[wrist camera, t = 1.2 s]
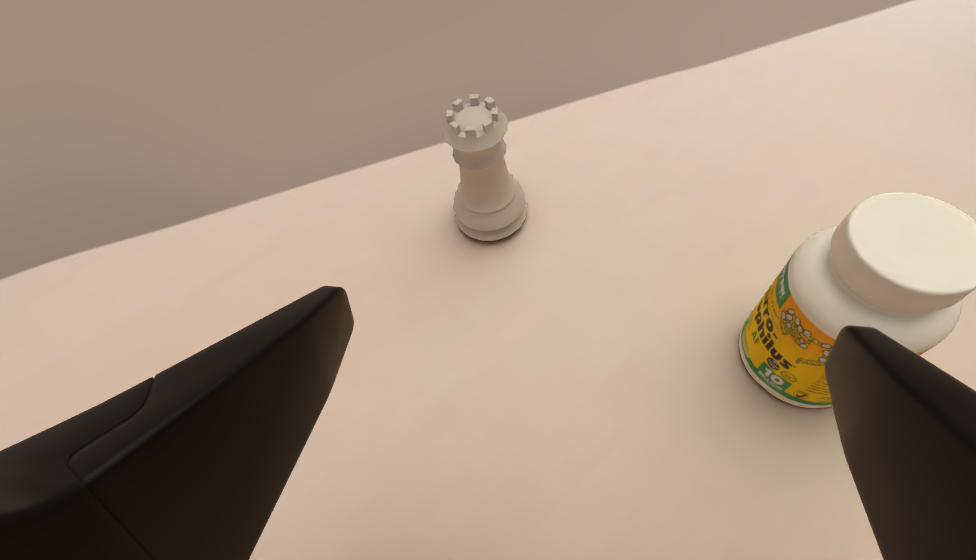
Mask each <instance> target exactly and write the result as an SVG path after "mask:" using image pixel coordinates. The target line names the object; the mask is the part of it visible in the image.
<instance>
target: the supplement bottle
mask: <svg viewBox="0 0 976 560" xmlns="http://www.w3.org/2000/svg"><path fill="white" fill-rule="evenodd" d="M975 289H976V222H975V221H974V220H973V219H972V218H971V217H969V216H968V215H967V214H965V213H964V212H962V211H961V210H959V209H957V208H956V207H954V206H952V205H950V204H948V203H946V202H943V201H941V200H939V199H936V198H933V197H929V196H925V195H921V194H916V193H908V192H891V193H883V194H878V195H875V196H873V197H870V198H868V199H866V200H864V201H862V202H861V203H859V204H858V205H857V206H856V207H855V208H854V209H853V210H852V211H851V212H850V213H849V214H848V215H847V216H846V218H845V219H844V220H843V221H842V222H841V223H840V224H839V225H836V226H832V227H829V228H826V229H823V230H821V231H819V232H817V233H815V234H814V235H812V236H811V237H809V238H808V239H807V240H806V241H804V242H803V243H802V244H801V245H800V246H799V247H798V248H797V249H796V251H795V252H794V253H793V255H792V256H791V258H790V259H789V261H788V262H787V264H786V265H785V267H784V268H783V270H782V271H781V273H780V274H779V275H778V277H777V278H776V279H775V281H774V282H773V284H772V285H771V286H770V287H769V289H768V290H767V292H766V293H765V295H764V296H763V297H762V299H761V300H760V301H759V303H758V304H757V306H756V307H755V309H754V310H753V311H752V312H751V314H750V316H749V317H748V319H747V320H746V322H745V323H744V325H743V327H742V329H741V331H740V336H739V349H740V354H741V357H742V360H743V362H744V365H745V367H746V368H747V370H748V372H749V374H750V375H751V376H752V377H753V378H754V379H755V380H756V381H757V382H758V383H759V384H760V385H761V386H762V387H764V388H765V389H766V390H767V391H768V392H770V393H771V394H772V395H774V396H775V397H777V398H779V399H781V400H783V401H785V402H787V403H790V404H792V405H795V406H800V407H806V408H826V407H831V406H833V405H832V401H831V397H830V393H829V389H828V384H827V380H826V376H825V362H826V359H827V357H828V355H829V353H830V351H831V349H832V346H833V344H834V342H835V340H836V338H837V336H838V334H839V332H840V330H841V329H842V328H843V327H845V326H848V325H852V326H866V327H873V328H876V329H878V330H879V331H881V332H882V333H884V334H885V335H887V336H889V337H890V338H892V339H893V340H895V341H897V342H898V343H900V344H901V345H903V346H905V347H906V348H908V349H909V350H911V351H912V352H914V353H916V354H917V355H919V356H920V355H921V354H923V353H924V352H926V351H928V350H929V349H931V348H932V347H934V346H935V345H937V344H938V343H940V342H941V341H942V340H944V339H945V338H946V337H947V336H948V335H949V334H950V333H951V331H952V330H953V329H954V327H955V326H956V324H957V322H958V320H959V317H960V314H961V309H962V299H963V298H964V297H965V296H966V295H968V294H969V293H970V292H972V291H973V290H975Z"/></svg>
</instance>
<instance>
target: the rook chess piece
mask: <svg viewBox="0 0 976 560" xmlns="http://www.w3.org/2000/svg"><path fill="white" fill-rule="evenodd" d="M469 96H470V101H471V102H470V103H467V104H464V105H463V101H462V100H461V99H460V98H459V99H457V100H456V101H454V102H453V103H452V105H453V109H454V111H453V110H447V115H446V118H447V121H446V122H445V124H444V127H443V136H444V139H445V141H446V143H448V144H449V145H450V146H452V147H453V148H454V149H453V157H454V159H455V162H456V163H457V164H459V166H460V179H461V182H460V184H459V185H458V189H457V191H456V192H455V198H454V206H453V209H454V211H455V219H456V222H457V224H458V227H459V228H460V229H461V230H462V231H463V232H464V233H465V234H466V235H467V236H469V237H472V238H475V239H478V240H481V241H496V240H499V239H502V238H505V237H508V236H510V235H511V234H512V233H513V232H515V231H516V230H517V229H518V228H520V227H521V225H522V224H523V222H524V220H525V218H526V216H527V203H526V201H525V193H524V191H523V189H522V188H521V186H520V184H519V182H518V181H517V180H516V179H514V177H513V175H511V174H510V173H509V172H508V170H507V167H506V164H505V161H504V155H505V153H506V143H505V142H504V140H503V137H504V135H505V134H506V132H507V128H508V121H507V119H506V117H505V115H504V113H502V112H501V111H499V109H498V107H496V106H495V101H494V100H493V99H492V98H490V97H487V98H486V99H485V103H483V102H480V96H479V94H474V95H469Z"/></svg>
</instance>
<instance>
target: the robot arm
mask: <svg viewBox="0 0 976 560" xmlns="http://www.w3.org/2000/svg"><path fill="white" fill-rule="evenodd" d="M353 326H354V320H353V315H352V312H351V308H350V304H349V301H348V297H347V294H346V291H345V290H344V289H343V288H341V287H332V286H323V287H321V288H319V289H317V290H315V291H313V292H311V293H309V294H307V295H305V296H304V297H302V298H300V299H298V300H296V301H294V302H292V303H290V304H289V305H287V306H285V307H283V308H281V309H279V310H277V311H275V312H273V313H272V314H270V315H268V316H266V317H264V318H262V319H260V320H258V321H257V322H255V323H253V324H251V325H249V326H247V327H245V328H243V329H241V330H240V331H238V332H236V333H234V334H232V335H230V336H228V337H226V338H225V339H223V340H221V341H219V342H217V343H215V344H213V345H211V346H209V347H208V348H206V349H204V350H202V351H200V352H198V353H196V354H194V355H193V356H191V357H189V358H187V359H185V360H183V361H181V362H179V363H177V364H176V365H174V366H172V367H170V368H168V369H166V370H164V371H162V372H161V373H159V374H157V375H156V376H155V378H149V379H147V380H145V381H143V382H142V383H140V384H138V385H136V386H134V387H132V388H130V389H128V390H126V391H125V392H123V393H121V394H119V395H117V396H115V397H113V398H111V399H109V400H107V401H105V402H103V403H101V404H99V405H97V406H95V407H93V408H91V409H89V410H87V411H85V412H83V413H81V414H78V415H76V416H74V417H72V418H70V419H68V420H66V421H64V422H62V423H60V424H57V425H55V426H53V427H51V428H49V429H47V430H45V431H42V432H40V433H38V434H36V435H34V436H32V437H30V438H27V439H25V440H23V441H21V442H19V443H17V444H15V445H12V446H10V447H8V448H6V449H4V450H2V451H0V560H249V558H250V556H251V554H252V552H253V550H254V548H255V546H256V544H257V542H258V540H259V538H260V536H261V534H262V532H263V529H264V527H265V525H266V523H267V521H268V519H269V517H270V515H271V513H272V511H273V509H274V507H275V505H276V503H277V501H278V499H279V497H280V495H281V493H282V491H283V489H284V487H285V485H286V483H287V481H288V478H289V476H290V474H291V472H292V470H293V468H294V466H295V464H296V462H297V460H298V458H299V456H300V454H301V452H302V450H303V448H304V446H305V444H306V442H307V440H308V438H309V436H310V434H311V432H312V430H313V427H314V425H315V423H316V421H317V419H318V417H319V415H320V413H321V411H322V409H323V407H324V405H325V403H326V401H327V399H328V396H329V394H330V392H331V389H332V387H333V384H334V381H335V379H336V376H337V373H338V370H339V367H340V365H341V362H342V359H343V356H344V353H345V351H346V348H347V345H348V342H349V339H350V337H351V334H352V331H353ZM825 376H826V380H827V384H828V389H829V393H830V397H831V401H832V405H833V409H834V414H835V418H836V422H837V426H838V430H839V435H840V439H841V443H842V446H843V450H844V454H845V457H846V460H847V463H848V465H849V468H850V471H851V474H852V476H853V479H854V482H855V484H856V487H857V490H858V492H859V495H860V498H861V500H862V503H863V506H864V509H865V511H866V514H867V517H868V519H869V522H870V525H871V527H872V530H873V533H874V535H875V538H876V541H877V543H878V546H879V549H880V551H881V554H882V557H883V559H884V560H976V391H974V390H973V389H971V388H970V387H968V386H967V385H965V384H963V383H962V382H960V381H959V380H957V379H955V378H954V377H952V376H951V375H949V374H947V373H946V372H944V371H943V370H941V369H939V368H938V367H936V366H935V365H933V364H932V363H930V362H928V361H927V360H925V359H924V358H922V357H920V356H919V355H917V354H916V353H914V352H912V351H911V350H909V349H908V348H906V347H905V346H903V345H901V344H900V343H898V342H897V341H895V340H893V339H892V338H890V337H889V336H887V335H885V334H884V333H882V332H881V331H879V330H878V329H876V328H873V327H866V326H852V325H848V326H845V327H843V328H842V329H841V330H840V332H839V334H838V336H837V338H836V340H835V342H834V344H833V346H832V349H831V351H830V353H829V355H828V357H827V359H826V362H825Z"/></svg>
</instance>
